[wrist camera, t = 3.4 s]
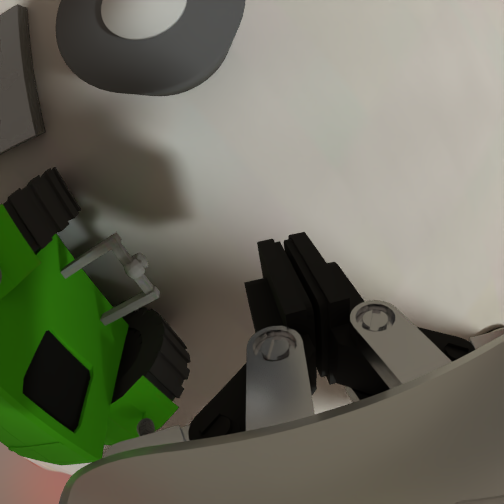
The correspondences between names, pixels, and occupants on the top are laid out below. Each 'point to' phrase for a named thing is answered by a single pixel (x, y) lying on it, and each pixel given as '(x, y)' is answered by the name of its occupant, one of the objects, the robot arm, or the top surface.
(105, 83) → the dark grey short cylinder
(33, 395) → the toy tractor
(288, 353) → the robot arm
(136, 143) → the top surface
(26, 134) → the pad
